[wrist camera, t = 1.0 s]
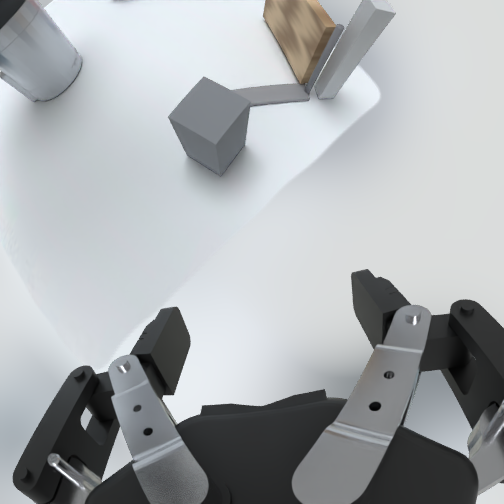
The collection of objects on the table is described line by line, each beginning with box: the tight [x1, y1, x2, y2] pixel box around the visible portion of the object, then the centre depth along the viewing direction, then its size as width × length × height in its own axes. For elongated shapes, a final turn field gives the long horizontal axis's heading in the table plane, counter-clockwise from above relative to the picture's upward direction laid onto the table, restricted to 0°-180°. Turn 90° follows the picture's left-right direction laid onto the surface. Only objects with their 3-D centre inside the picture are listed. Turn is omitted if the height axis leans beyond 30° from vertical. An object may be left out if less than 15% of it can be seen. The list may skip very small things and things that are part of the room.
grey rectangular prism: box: [168, 77, 251, 176], centre depth 24 cm, size 5×5×10 cm
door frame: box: [231, 0, 396, 106], centre depth 21 cm, size 18×2×17 cm, turn 101°
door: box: [263, 0, 336, 84], centre depth 23 cm, size 14×1×11 cm, turn 18°
